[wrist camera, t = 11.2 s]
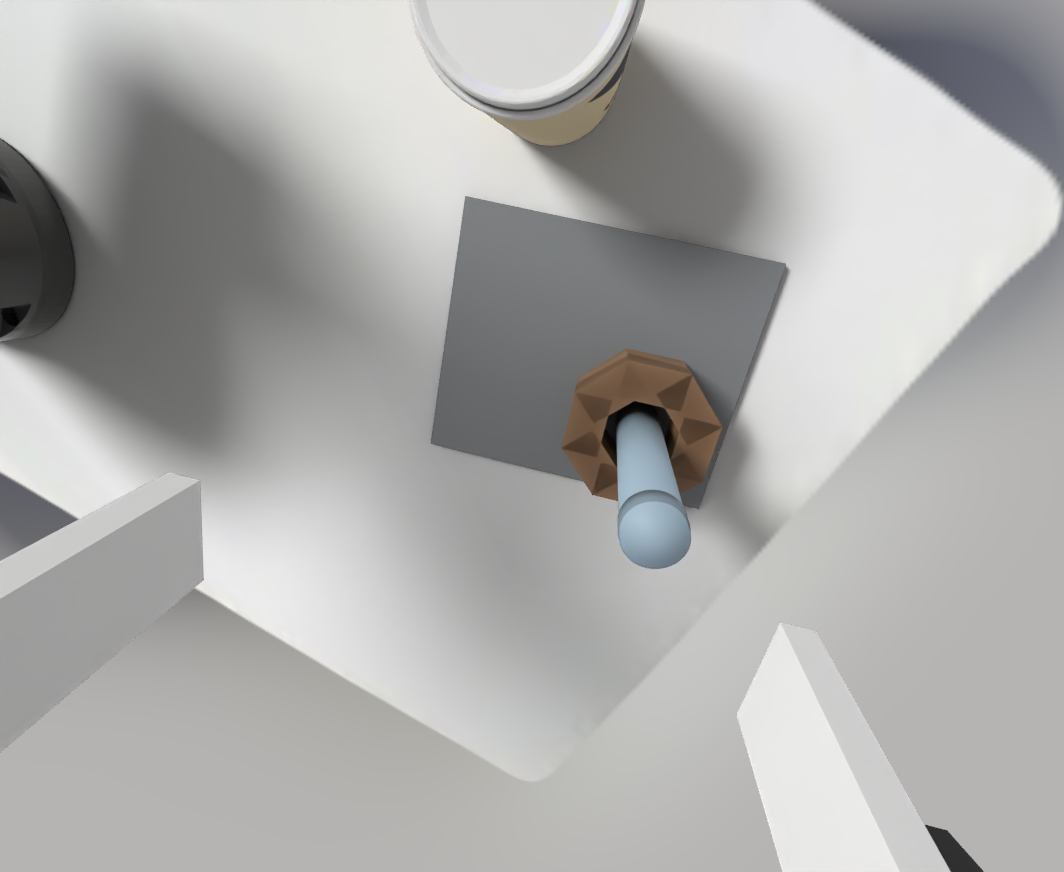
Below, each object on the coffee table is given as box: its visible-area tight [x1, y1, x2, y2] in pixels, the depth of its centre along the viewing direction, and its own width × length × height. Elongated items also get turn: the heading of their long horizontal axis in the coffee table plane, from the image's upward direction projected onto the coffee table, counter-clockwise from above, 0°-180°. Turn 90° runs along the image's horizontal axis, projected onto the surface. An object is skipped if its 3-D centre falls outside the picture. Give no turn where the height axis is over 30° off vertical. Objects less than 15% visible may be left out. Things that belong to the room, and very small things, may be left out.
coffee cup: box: [408, 0, 645, 146], centre depth 25 cm, size 9×9×12 cm
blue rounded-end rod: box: [616, 401, 691, 569], centre depth 28 cm, size 3×3×16 cm
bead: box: [561, 348, 722, 501], centre depth 34 cm, size 9×9×4 cm
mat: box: [431, 196, 786, 509], centre depth 35 cm, size 20×17×1 cm
